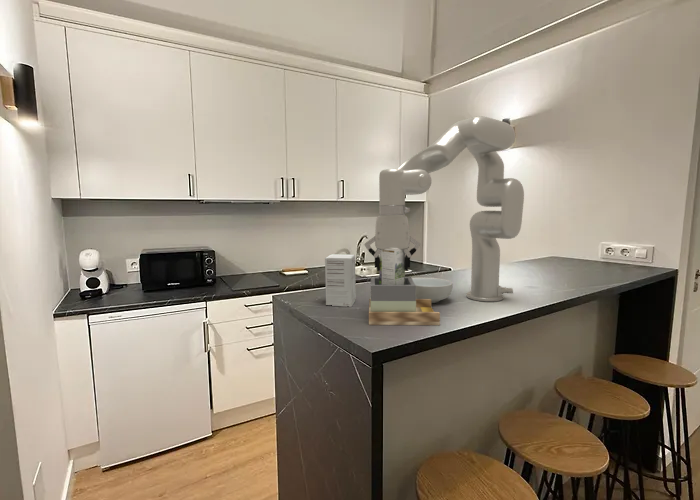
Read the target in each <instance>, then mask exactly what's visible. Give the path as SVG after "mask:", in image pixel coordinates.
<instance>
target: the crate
mask: <svg viewBox="0 0 700 500" xmlns="http://www.w3.org/2000/svg"><path fill="white" fill-rule="evenodd" d="M412 278H413V277H411V276H409V277H408V276H407V277H406V276H405V285H379V276H377V277H376V276H375V277H370V299H371V301H370V302H371V312H416V285H415V284H414V282H413V280H412Z"/></svg>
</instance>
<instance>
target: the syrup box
mask: <svg viewBox="0 0 700 500" xmlns="http://www.w3.org/2000/svg"><path fill="white" fill-rule="evenodd" d="M405 256H406V254H405V252H404V250H401V249H399V248H387V249H385V250H381V252H380V254H379V264H380V270H379V271H378V272H379V273H378V274H379V275H378V277H379V285H405V277H406V270H405Z"/></svg>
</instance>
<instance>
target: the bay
mask: <svg viewBox="0 0 700 500" xmlns="http://www.w3.org/2000/svg"><path fill="white" fill-rule="evenodd" d="M368 301H369V304H368V325H369V326H440V325H441V322H440V321H441V313H440V312H439V311H435V310H434V309H433V308H432V303H431V299H416V312H371V302H370V301H371V298H369V300H368Z"/></svg>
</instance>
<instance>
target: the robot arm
mask: <svg viewBox="0 0 700 500" xmlns="http://www.w3.org/2000/svg"><path fill="white" fill-rule="evenodd" d="M515 142H516V131H515V129H514V127H513V126H512V125H511V124H510V123H509V122H506V121H503V120H498V119H494V118H492V117H487V116H480V115H478V116H473V117H469V118H466V119H461V120H459V121H456V122H455V123H453V124H451V125H450V126H449V127H448V128H447V129H446V130H445V131H444V132H443V133H442V134H441V135H440V136H439V137H438V138H437V139H436V140H435V141H433V143H431V144H430V145H428V146H427V147H425V148H424V149H422V150H421V151H419V152H418V153H416V154H415V155H413V156H411V157H410V158H408V159H407V160H405V162H403V163H402V164H401V165H400V166H398V167H397V168H387V169H386V168H385V169H382V170H381V171H380V172H379V175H378V178H379V179H378V180H379V183H378V185H379V189H378V190H379V198H378V199H379V202H378V203H379V208H378V209H379V216H377V217H376V221H375V232H374V233H375V234H374V236H373V237H372V238H371V239H368V241H366V242H365V243H364V244H363V245H364V247H365V248H366V249H367V251H368V252H369V254H371V256H373V257H374V268H376V270H377V272H379V270H380V264H379V254H380V252H381V250H385V249H387V248H399V249H401V250H404V252H405V272H407V271H409V268H411V257H412V256H413V255H414V254H416V251H417V250H418V249H419V248H420V246H421V242H419V241H418V240H416V239H415V238H413V237H412V236H410V228H409V219H408V216H407V215H406V214H407V213H410V212H411V207H407V206H406V196H409V195H410V196H416V195H422V194H424V193H426V192H427V191H428V190H429V189H430V188H431V186H432V177H431V175H430V173H434V172H437V171H439V170H441V169H443V168H444V169H445V168H446V167H448V166H449V165H450V164H451V163H452V162H453V161H455V159H456V158H457V157H458V156H459V155H460V154H461V153H462V152H463V151H464V150H465V149H466V148H467V150H468V152H469V153H470V154H471V155H472V156H473V158H474V159H475V161H476V164H477V168H478V173H477V174H478V175H477V183H476V184H477V187H476V189H477V190H476V201H477V202H476V203H478V205H480V206H482V207H486V208H501V210H481V211H477V212H475V213H474V214H473V215H472V216H471V218H470V220H469V231H470V236H471V275H470V277H471V279H470V280H471V282H470V291H468V292H467V293H466V297H467V299H470V300H473V301H479V302H498V301H499V302H500V301H502V300H503V299H504V294H514V289H513V288H512V287H506V286H504V287H502V286H501V285H500V267H501V266H500V262H501V261H500V260H501V248H500V244H499V243H498V241H497V239H502V240H511V239H514V238H516V237H517V236H519V234H520V231H521V228H522V222H523V212H524V203H525V202H524V201H525V190H524V186H523V184H522V183H521V181H520V180H519V179H516V178H512V177H510V178H505V176H504V175H505V163H504V161H503V159H502V157H501V156H500V155H499V153H498V152H500V151H505V150H508V149H510V148H511V147H512V146H513V144H514V143H515ZM410 242H411V243H413V246H412V248H411V249H409V248H410ZM373 243H374V244H375V248H376V250H374V249H373V248H372V246H371V245H372V244H373Z"/></svg>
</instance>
